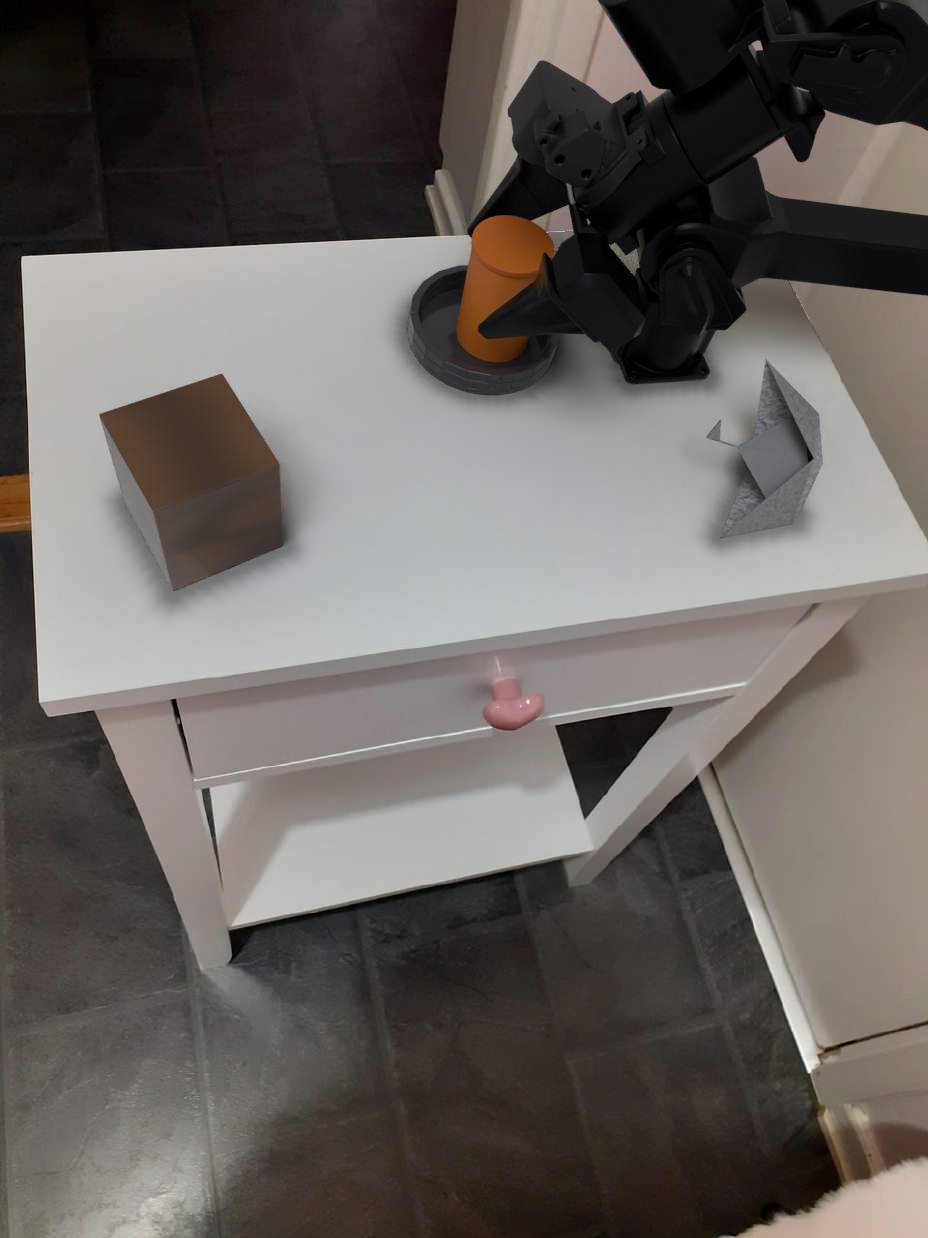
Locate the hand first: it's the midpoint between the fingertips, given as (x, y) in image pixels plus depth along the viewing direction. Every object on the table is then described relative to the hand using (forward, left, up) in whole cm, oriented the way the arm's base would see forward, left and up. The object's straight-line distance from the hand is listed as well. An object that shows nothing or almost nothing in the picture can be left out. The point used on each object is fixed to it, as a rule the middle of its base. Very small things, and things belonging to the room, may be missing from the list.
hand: (476, 283), depth 62 cm
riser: (+19, +14, -5) cm, 24 cm away
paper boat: (-17, +14, -5) cm, 23 cm away
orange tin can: (-2, 0, -5) cm, 5 cm away
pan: (-1, 0, -5) cm, 5 cm away
